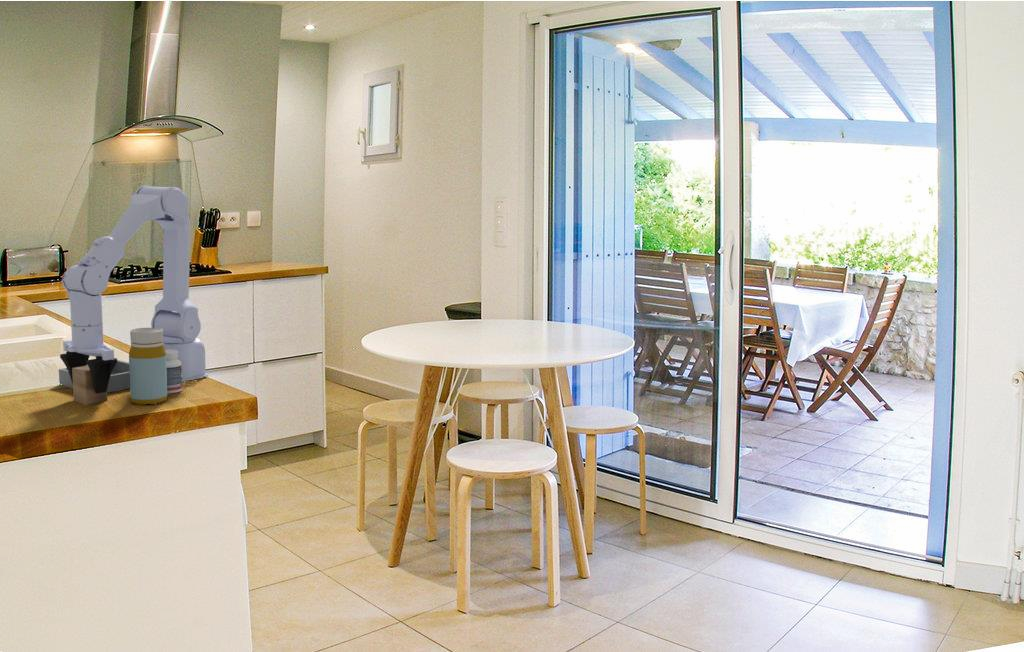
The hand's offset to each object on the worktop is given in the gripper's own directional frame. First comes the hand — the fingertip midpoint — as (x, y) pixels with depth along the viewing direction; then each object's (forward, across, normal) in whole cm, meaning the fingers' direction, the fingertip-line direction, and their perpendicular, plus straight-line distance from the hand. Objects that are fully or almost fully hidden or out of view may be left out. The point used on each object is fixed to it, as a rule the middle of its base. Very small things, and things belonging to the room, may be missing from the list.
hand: (89, 389), depth 172 cm
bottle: (+3, +9, +7) cm, 12 cm away
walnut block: (+2, 0, 0) cm, 2 cm away
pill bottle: (+3, +5, +15) cm, 16 cm away
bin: (+2, -10, +10) cm, 14 cm away
